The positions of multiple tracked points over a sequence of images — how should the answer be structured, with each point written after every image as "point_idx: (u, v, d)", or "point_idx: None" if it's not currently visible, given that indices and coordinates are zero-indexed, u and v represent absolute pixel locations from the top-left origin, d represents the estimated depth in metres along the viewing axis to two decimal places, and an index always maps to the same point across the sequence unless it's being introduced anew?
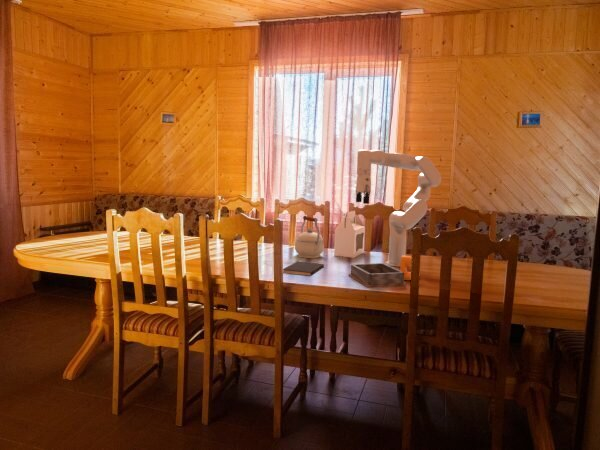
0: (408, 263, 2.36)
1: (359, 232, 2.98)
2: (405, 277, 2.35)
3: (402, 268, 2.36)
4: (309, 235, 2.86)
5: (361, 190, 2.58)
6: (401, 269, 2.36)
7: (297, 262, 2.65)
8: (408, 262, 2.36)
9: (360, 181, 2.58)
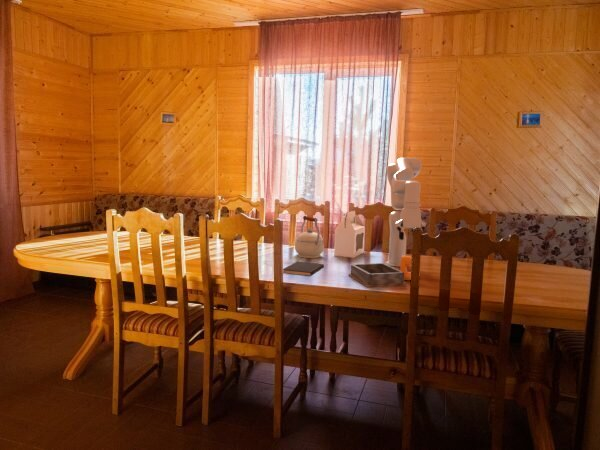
0: (408, 263, 2.36)
1: (359, 232, 2.98)
2: (405, 277, 2.35)
3: (402, 268, 2.36)
4: (309, 235, 2.86)
5: (417, 225, 2.35)
6: (401, 269, 2.36)
7: (297, 262, 2.65)
8: (408, 262, 2.36)
9: (416, 216, 2.34)
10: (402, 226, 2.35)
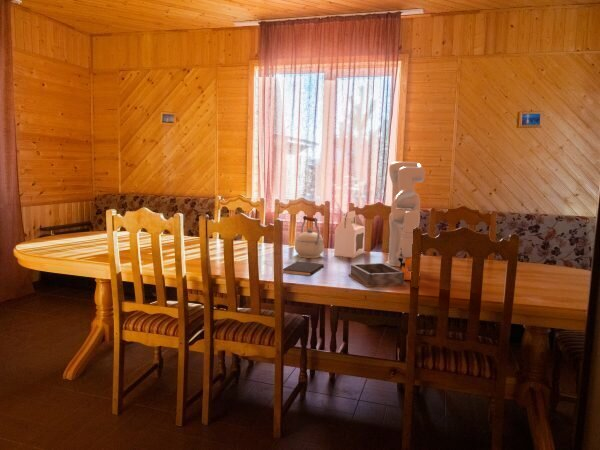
0: (409, 263, 2.36)
1: (359, 232, 2.98)
2: (407, 277, 2.34)
3: (403, 268, 2.36)
4: (309, 235, 2.86)
5: None
6: (402, 269, 2.36)
7: (297, 262, 2.65)
8: (409, 262, 2.36)
9: None
10: (402, 257, 2.37)
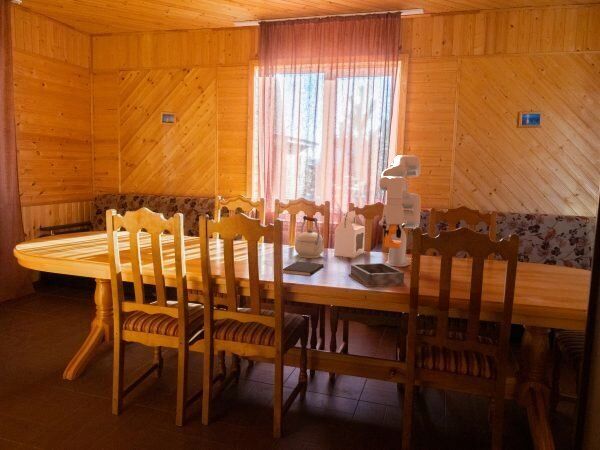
0: (393, 230, 2.31)
1: (359, 232, 2.98)
2: (390, 244, 2.30)
3: None
4: (309, 235, 2.86)
5: (400, 222, 2.32)
6: (386, 236, 2.31)
7: (297, 262, 2.65)
8: (393, 229, 2.31)
9: (399, 212, 2.30)
10: (386, 224, 2.32)
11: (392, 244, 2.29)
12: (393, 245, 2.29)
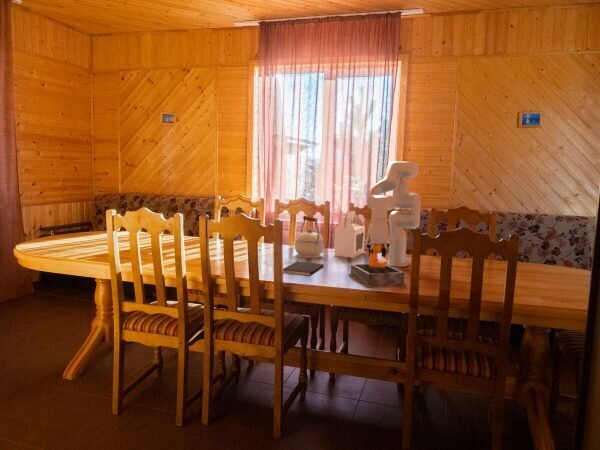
0: (378, 250, 2.30)
1: (359, 232, 2.98)
2: (375, 264, 2.29)
3: (372, 255, 2.30)
4: (309, 235, 2.86)
5: (384, 241, 2.31)
6: (371, 256, 2.30)
7: (297, 262, 2.65)
8: (378, 249, 2.30)
9: (383, 232, 2.29)
10: (370, 243, 2.31)
11: (376, 264, 2.29)
12: (377, 265, 2.29)
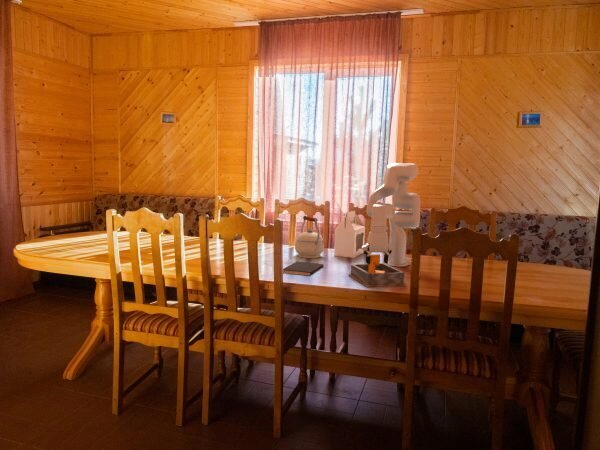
0: (376, 262, 2.31)
1: (359, 232, 2.98)
2: None
3: (370, 267, 2.31)
4: (309, 235, 2.86)
5: (384, 250, 2.31)
6: (370, 268, 2.31)
7: (297, 262, 2.65)
8: (376, 261, 2.31)
9: (383, 240, 2.30)
10: (369, 250, 2.31)
11: None
12: None
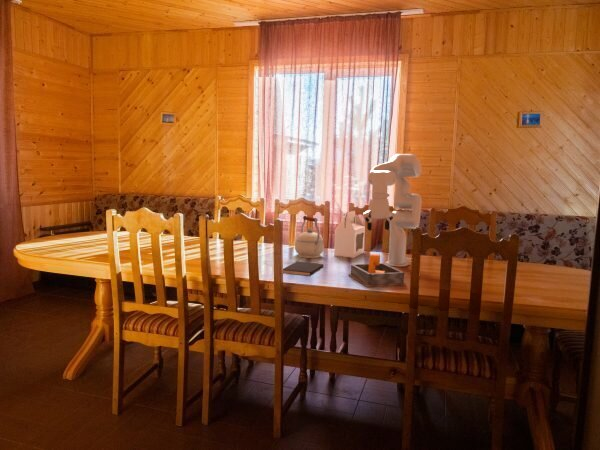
0: (376, 262, 2.31)
1: (359, 232, 2.98)
2: None
3: (370, 267, 2.31)
4: (309, 235, 2.86)
5: (385, 216, 2.35)
6: (370, 268, 2.31)
7: (297, 262, 2.65)
8: (376, 261, 2.31)
9: (384, 206, 2.33)
10: (370, 217, 2.34)
11: None
12: None
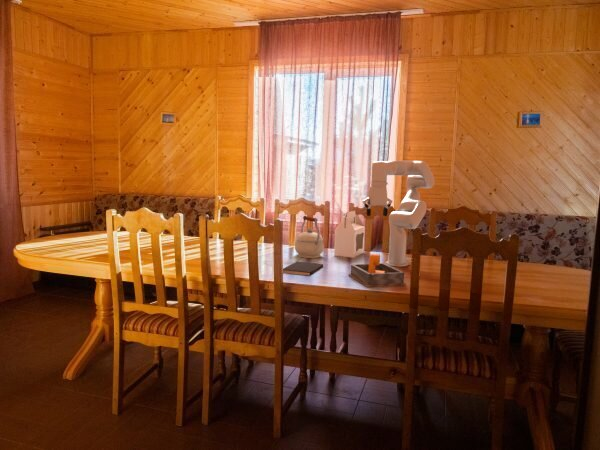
0: (376, 262, 2.31)
1: (359, 232, 2.98)
2: None
3: (370, 267, 2.31)
4: (309, 235, 2.86)
5: (383, 203, 2.51)
6: (370, 268, 2.31)
7: (297, 262, 2.65)
8: (376, 261, 2.31)
9: (382, 194, 2.50)
10: (369, 203, 2.51)
11: None
12: None
